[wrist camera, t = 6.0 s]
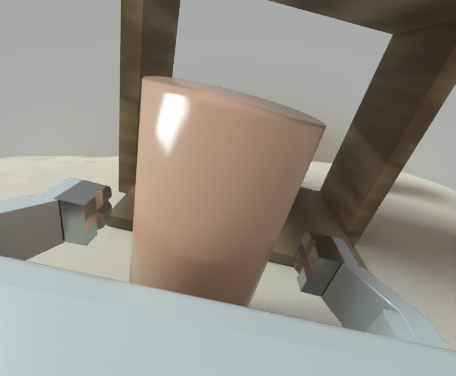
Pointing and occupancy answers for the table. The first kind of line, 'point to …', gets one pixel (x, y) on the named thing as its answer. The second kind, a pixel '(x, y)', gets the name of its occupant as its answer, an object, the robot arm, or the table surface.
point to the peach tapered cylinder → (213, 186)
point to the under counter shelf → (359, 129)
